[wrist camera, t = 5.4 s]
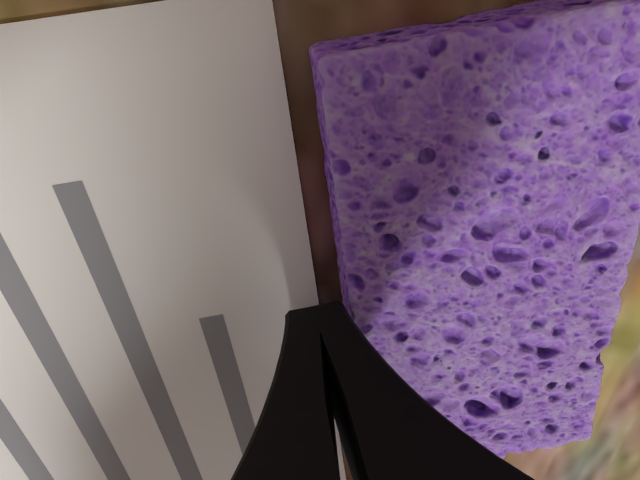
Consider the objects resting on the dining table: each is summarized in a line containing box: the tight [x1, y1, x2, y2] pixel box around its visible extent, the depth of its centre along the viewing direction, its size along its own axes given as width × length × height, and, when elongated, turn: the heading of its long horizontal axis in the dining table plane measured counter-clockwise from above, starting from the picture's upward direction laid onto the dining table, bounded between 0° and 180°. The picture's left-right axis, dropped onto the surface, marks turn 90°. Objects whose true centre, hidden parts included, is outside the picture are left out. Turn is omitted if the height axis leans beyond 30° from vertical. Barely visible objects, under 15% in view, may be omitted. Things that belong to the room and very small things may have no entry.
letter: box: [0, 0, 346, 480], centre depth 12 cm, size 15×11×1 cm
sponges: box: [308, 0, 640, 459], centre depth 12 cm, size 7×13×2 cm, turn 7°
